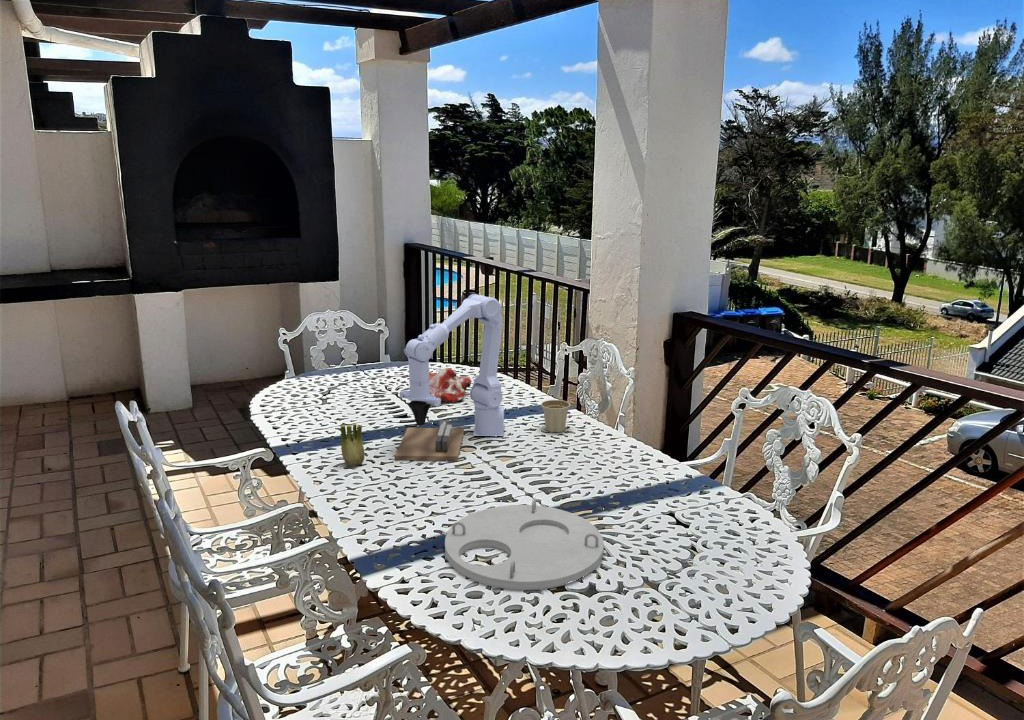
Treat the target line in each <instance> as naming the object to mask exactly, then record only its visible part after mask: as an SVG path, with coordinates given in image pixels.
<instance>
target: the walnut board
mask: <svg viewBox="0 0 1024 720" xmlns="http://www.w3.org/2000/svg"><path fill="white" fill-rule="evenodd" d="M439 429H440V427H407V428H406V431H405V432H404V434H403V437H402V439H401V441H400V443H399V445H398V447H397V450H396V451H395V454H394V461H395V460H418V461H417V462H459V457H460V453H461V449H462V445H461V443H462V444H463V440H462V439H464V436H463V435H465V428H464V427H463V428H462V427H455V428H454V427H452V436H451V439H450V443H449V447H448V451H447V452H442V449H441V452H436V438H437V435H438V432H439ZM460 448H461V449H460ZM446 460H447V461H446ZM449 460H450V461H449ZM452 460H454V461H452Z"/></svg>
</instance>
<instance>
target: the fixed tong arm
mask: <svg viewBox="0 0 1024 720" xmlns="http://www.w3.org/2000/svg"><path fill="white" fill-rule="evenodd" d="M452 428H453V425H452V424H449V425H447V427H446V430H445V434H444V436H443V439H442V452H447V451H448V447H449V443H450V439H451V436H452Z"/></svg>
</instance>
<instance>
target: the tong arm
mask: <svg viewBox="0 0 1024 720" xmlns="http://www.w3.org/2000/svg"><path fill="white" fill-rule="evenodd" d="M449 423H450V422H449V420H448V419H441V420H439V424H438V425H439V428H440V429H439V432H438V435H437V438H436V452H441V449H442V439H443V436H444V434H445V430H446V427H447V425H450V424H449Z"/></svg>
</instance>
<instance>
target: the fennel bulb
mask: <svg viewBox="0 0 1024 720" xmlns="http://www.w3.org/2000/svg"><path fill="white" fill-rule="evenodd" d="M339 427H340V434H341V435H340V436H341V440H340V441H341V442H340V444H341V447H340V448H341V456H342V459H343V461H344V463H345V464H346V465H347V466H350V467H358V466H360V465H361V464H362V463H364V462H365V461H364V460H365V447H364V443H363V439H362V438H363V436H362V435H363V434H362V429H363V425H362V424H356V423H352V424H348V425H345V424H343V425H339Z"/></svg>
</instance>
